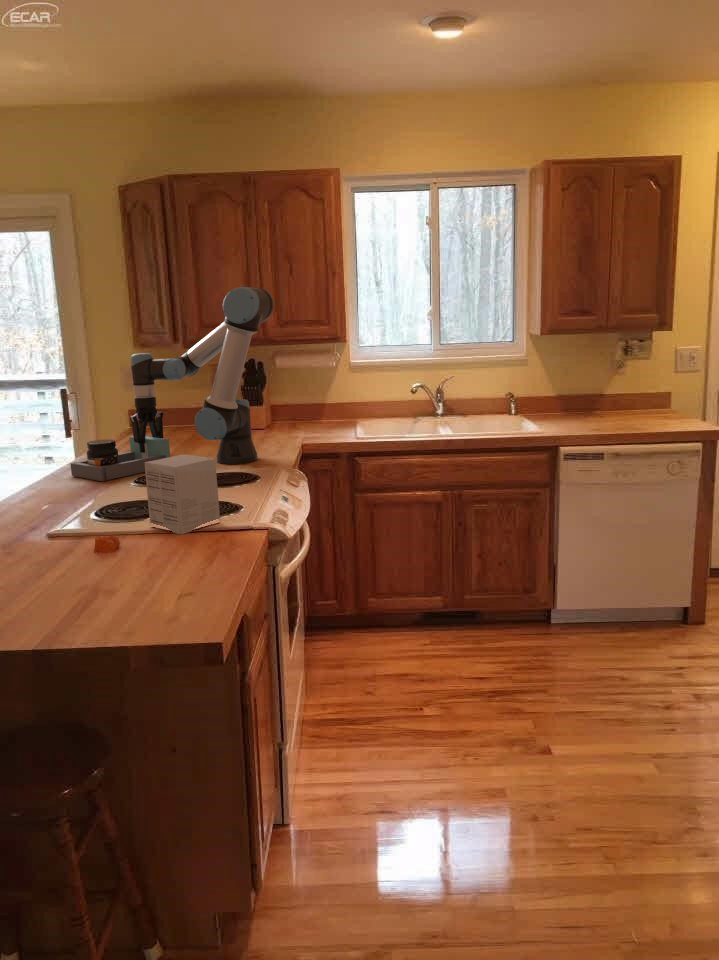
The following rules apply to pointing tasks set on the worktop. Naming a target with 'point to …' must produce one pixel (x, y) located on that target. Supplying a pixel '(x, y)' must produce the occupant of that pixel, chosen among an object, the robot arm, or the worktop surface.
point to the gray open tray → (124, 461)
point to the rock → (106, 544)
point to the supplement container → (102, 452)
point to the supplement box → (182, 492)
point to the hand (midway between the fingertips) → (150, 459)
